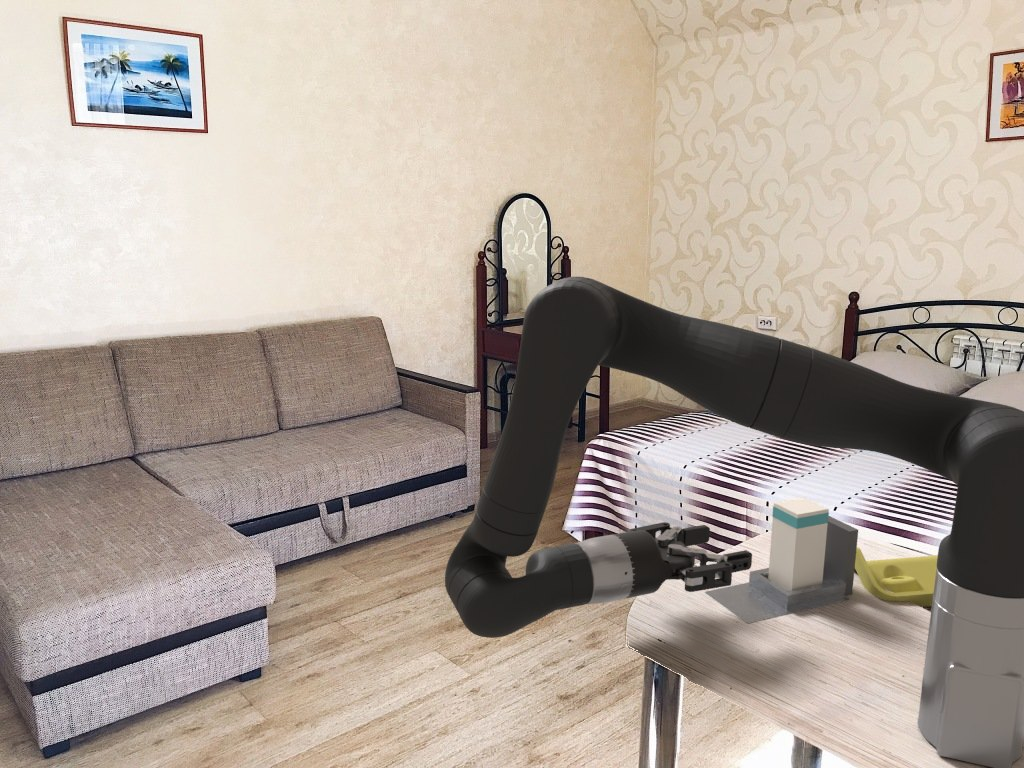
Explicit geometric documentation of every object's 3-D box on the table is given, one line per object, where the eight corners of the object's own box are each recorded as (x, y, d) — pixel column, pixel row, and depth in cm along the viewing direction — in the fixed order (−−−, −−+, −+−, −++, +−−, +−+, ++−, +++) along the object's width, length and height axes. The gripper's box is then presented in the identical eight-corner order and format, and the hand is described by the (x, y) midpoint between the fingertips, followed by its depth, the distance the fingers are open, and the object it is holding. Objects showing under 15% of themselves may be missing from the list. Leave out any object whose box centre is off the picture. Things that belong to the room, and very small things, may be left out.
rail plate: (747, 634, 104) (748, 608, 103) (703, 602, 112) (705, 577, 111) (847, 610, 110) (850, 585, 109) (799, 581, 118) (801, 558, 117)
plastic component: (879, 598, 108) (850, 538, 116) (867, 632, 113) (840, 572, 121) (1032, 585, 108) (994, 526, 116) (1014, 620, 113) (978, 561, 121)
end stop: (842, 606, 111) (849, 531, 108) (804, 584, 117) (810, 512, 115) (851, 604, 111) (858, 529, 109) (813, 582, 118) (819, 511, 115)
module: (790, 602, 109) (797, 514, 106) (767, 587, 113) (773, 502, 110) (821, 595, 110) (829, 508, 108) (797, 581, 115) (804, 497, 112)
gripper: (647, 561, 92) (767, 538, 98) (586, 516, 105) (696, 498, 111) (644, 624, 94) (763, 598, 100) (585, 572, 107) (693, 551, 113)
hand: (728, 545), depth 106 cm, fingers open, 8 cm apart
